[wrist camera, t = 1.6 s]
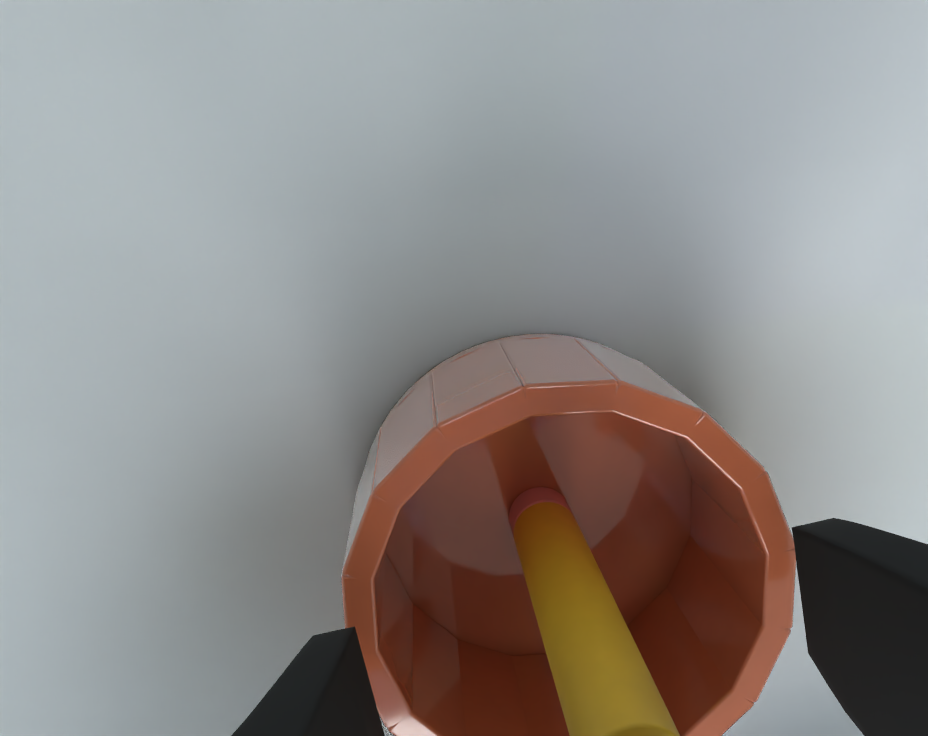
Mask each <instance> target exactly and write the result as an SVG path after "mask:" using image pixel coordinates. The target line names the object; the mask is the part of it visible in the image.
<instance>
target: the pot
mask: <svg viewBox="0 0 928 736" xmlns="http://www.w3.org/2000/svg"><path fill="white" fill-rule="evenodd" d="M536 487H546V488H550V489H553V490H555V491H557V492H558V493H560V494H561V495H562V496H563V497H564V498H565V500H566V501H567V503H568V505H569V507H570V509H571V511H572V513H573V515H574V518H575V519H576V521H577V524H578V526H579V528H580V530H581V532H582V534H583V536H584V538H585V540H586V542H587V544H588V546H589V548H590V550H591V552H592V554H593V557H594V559H595V561H596V563H597V565H598V567H599V569H600V571H601V573H602V575H603V577H604V579H605V581H606V583H607V585H608V588H609V590H610V592H611V594H612V596H613V598H614V600H615V602H616V604H617V606H618V608H619V610H620V612H621V614H622V616H623V619H624V621H625V623H626V625H627V627H628V629H629V631H630V633H631V635H632V637H633V639H634V641H635V643H636V645H637V647H638V650H639V652H640V654H641V656H642V658H643V660H644V662H645V664H646V666H647V668H648V670H649V672H650V674H651V676H652V678H653V680H654V683H655V685H656V687H657V689H658V691H659V693H660V695H661V697H662V699H663V701H664V703H665V705H666V707H667V709H668V711H669V714H670V716H671V718H672V720H673V722H674V724H675V726H676V728H677V730H678V732H679V734H680V736H721V735H722V734H723V733H725V732H726V731H727V730H728V729H729V728H730V727H731V726H732V725H733V724H734V723H735V722H736V721H737V720H738V719H740V718H741V717H742V716H743V715H744V714H745V713H746V712H747V711H748V710H749V709H750V708H751V707H752V706H753V705H754V702H756V701H757V700H758V698H759V696H760V694H761V692H762V689H763V687H764V685H765V683H766V681H767V679H768V677H769V675H770V673H771V671H772V669H773V667H774V665H775V663H776V661H777V659H778V657H779V655H780V653H781V651H782V649H783V647H784V645H785V643H786V641H787V639H788V636H789V634H790V632H791V630H790V628H792V622H793V605H794V587H795V570H796V555H795V547H794V539H793V536H792V534H791V531H790V528H789V526H788V523H787V521H786V518H785V516H784V513H783V511H782V508H781V505H780V503H779V500H778V498H777V495H776V493H775V490H774V487H773V485H772V482H771V480H770V477H769V475H768V473H767V472H766V471H765V469H764V467H763V466H762V465H761V464H760V463H759V462H758V461H757V460H756V459H755V458H754V457H753V456H752V455H751V454H750V453H749V452H748V451H747V450H746V449H745V448H743V447H742V446H741V445H740V444H739V443H738V442H737V441H736V440H735V439H734V438H733V437H732V436H731V435H730V434H729V433H728V432H727V431H726V430H725V429H724V428H723V427H721V426H720V425H719V424H718V423H717V422H716V421H715V420H714V419H713V418H712V417H711V416H710V415H709V414H708V413H707V412H706V411H704V410H703V409H702V408H700V407H699V406H698V405H697V404H695V403H694V402H693V401H691V400H690V399H689V398H688V397H686V396H685V395H684V394H682V393H681V392H680V391H679V390H677V389H676V388H675V387H673V386H672V385H671V384H669V383H668V382H667V381H666V380H664V379H663V378H662V377H660V376H659V375H658V374H657V373H655V372H654V371H653V370H651V369H650V368H649V367H648V366H646V365H645V364H643V363H641V362H640V361H639V360H636V359H633V358H631V357H628V356H626V355H625V354H623V353H621V352H618V351H616V350H614V349H612V348H609V347H607V346H605V345H603V344H600V343H596V342H593V341H589V340H586V339H582V338H578V337H571V336H565V335H558V334H526V335H517V336H509V337H504V338H500V339H496V340H492V341H488V342H485V343H482V344H479V345H477V346H474V347H472V348H469V349H466V350H464V351H462V352H460V353H458V354H456V355H454V356H452V357H451V358H449V359H447V360H445V361H443V362H442V363H440V364H439V365H437V366H436V367H435V368H433V369H432V370H430V371H429V372H428V373H426V374H425V375H424V376H422V377H421V378H420V379H419V380H418V381H417V382H416V383H415V384H414V385H413V386H412V387H411V388H409V389H408V390H407V391H406V392H405V393H404V395H403V396H402V397H401V398H400V400H399V401H398V402H397V403H396V404H395V406H394V407H393V408H392V409H391V411H390V412H389V414H388V416H387V417H386V419H385V420H384V422H383V423H382V425H381V427H380V428H379V430H378V433H377V435H376V437H375V439H374V442H373V444H372V446H371V448H370V451H369V454H368V457H367V461H366V464H365V468H364V471H363V474H362V477H361V480H360V483H359V485H358V488H357V493H356V498H355V503H354V509H353V514H352V520H351V525H350V530H349V536H348V541H347V547H346V552H345V557H344V563H343V568H342V576H341V585H342V598H343V611H344V624H345V628H350V627H354V626H355V629H356V632H357V636H358V640H359V644H360V647H361V651H362V655H363V658H364V662H365V666H366V669H367V673H368V677H369V680H370V684H371V688H372V691H373V695H374V699H375V702H376V706H377V710H378V713H379V716H380V718H381V720H382V721H383V723H384V725H385V726H386V727H387V728H388V730H389V732H391V733H392V734H393V735H395V736H570V735H569V732H568V728H567V725H566V721H565V718H564V714H563V710H562V707H561V703H560V700H559V696H558V693H557V689H556V686H555V682H554V679H553V675H552V672H551V668H550V665H549V661H548V658H547V654H546V651H545V647H544V643H543V640H542V636H541V633H540V629H539V626H538V622H537V619H536V615H535V612H534V608H533V605H532V601H531V598H530V594H529V591H528V587H527V583H526V580H525V576H524V573H523V569H522V566H521V562H520V559H519V555H518V552H517V548H516V545H515V541H514V538H513V534H512V531H511V527H510V523H509V512H510V508H511V506H512V504H513V502H514V500H515V499H516V498H517V497H518V496H519V495H520V494H521V493H523V492H525V491H526V490H529V489H532V488H536Z"/></svg>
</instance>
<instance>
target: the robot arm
mask: <svg viewBox="0 0 928 736" xmlns="http://www.w3.org/2000/svg"><path fill="white" fill-rule="evenodd" d="M792 532H793V539H794V547H795V555H796V562H797V570H798V578H799V585H800V593H801V601H802V608H803V616H804V624H805V631H806V639H807V647H808V653H809V655H810V657H811V658H812V660H813V662H814V663H815V665H816V666H817V668H818V670H819V671H820V673H821V675H822V676H823V678H824V680H825V681H826V683H827V684H828V686H829V688H830V689H831V691H832V692H833V694H834V695H835V697H836V698H837V700H838V701H839V703H840V704H841V706H842V708H843V709H844V711H845V712H846V713H847V715H848V716H849V717H850V718H851V720H852V721H853V722H854V723H855V725H856V726H857V727H858V728H859V730H860V731H861V732H862V733H863V734H864V736H928V544H924V543H921V542H918V541H915V540H912V539H908V538H905V537H902V536H899V535H895V534H892V533H889V532H886V531H882V530H879V529H876V528H872V527H869V526H865V525H862V524H858V523H854V522H850V521H846V520H841V519H836V518H832V519H827V520H823V521H819V522H814V523H810V524H805V525H801V526H796V527H792ZM232 736H385V735H384V732H383V728H382V724H381V721H380V717H379V713H378V710H377V706H376V702H375V699H374V695H373V691H372V688H371V684H370V680H369V677H368V673H367V669H366V666H365V662H364V658H363V655H362V651H361V647H360V644H359V640H358V636H357V632H356V629H355V626H354V627H350V628H345V629H341V630H336V631H332V632H328V633H323V634H319V635H314V636H312V638H311V639H310V640H309V641H308V642H307V643H306V644H305V646H304V647H303V648H302V649H301V651H300V652H299V653H298V654H297V656H296V657H295V658H294V659H293V661H292V662H291V663H290V665H289V666H288V667H287V668H286V670H285V671H284V672H283V674H282V675H281V676H280V677H279V679H278V680H277V681H276V683H275V684H274V685H273V686H272V688H271V689H270V690H269V691H268V693H267V694H266V695H265V696H264V697H263V699H262V700H261V701H260V702H259V704H258V705H257V706H256V707H255V709H254V710H253V711H252V712H251V714H250V715H249V716H248V717H247V719H246V720H245V721H244V722H243V723H242V724H241V725H240V727H239V728H238V729H237V730H236V731H235V732H234V733H233V734H232Z"/></svg>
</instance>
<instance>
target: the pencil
mask: <svg viewBox="0 0 928 736" xmlns="http://www.w3.org/2000/svg"><path fill="white" fill-rule="evenodd" d="M509 523H510V527H511V531H512V534H513V538H514V541H515V545H516V548H517V552H518V555H519V559H520V562H521V566H522V569H523V573H524V576H525V580H526V583H527V587H528V591H529V594H530V598H531V601H532V605H533V608H534V612H535V615H536V619H537V622H538V626H539V629H540V633H541V636H542V640H543V643H544V647H545V651H546V654H547V658H548V661H549V665H550V668H551V672H552V675H553V679H554V682H555V686H556V689H557V693H558V696H559V700H560V703H561V707H562V710H563V714H564V718H565V721H566V725H567V728H568V732H569V735H570V736H680V734H679V732H678V730H677V728H676V726H675V724H674V722H673V720H672V718H671V716H670V714H669V711H668V709H667V707H666V705H665V703H664V701H663V699H662V697H661V695H660V693H659V691H658V689H657V687H656V685H655V683H654V680H653V678H652V676H651V674H650V672H649V670H648V668H647V666H646V664H645V662H644V660H643V658H642V656H641V654H640V652H639V650H638V647H637V645H636V643H635V641H634V639H633V637H632V635H631V633H630V631H629V629H628V627H627V625H626V623H625V621H624V619H623V616H622V614H621V612H620V610H619V608H618V606H617V604H616V602H615V600H614V598H613V596H612V594H611V592H610V590H609V588H608V585H607V583H606V581H605V579H604V577H603V575H602V573H601V571H600V569H599V567H598V565H597V563H596V561H595V559H594V557H593V554H592V552H591V550H590V548H589V546H588V544H587V542H586V540H585V538H584V536H583V534H582V532H581V530H580V528H579V526H578V524H577V521H576V519H575V518H574V515H573V513H572V511H571V509H570V507H569V505H568V503H567V501H566V500H565V498H564V497H563V496H562V495H561V494H560V493H558V492H557V491H555V490H553V489H550V488H546V487H536V488H532V489H529V490H526V491H525V492H523V493H521V494H520V495H519V496H518V497H517V498H516V499H515V500H514V502H513V504H512V506H511V508H510V512H509Z"/></svg>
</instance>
